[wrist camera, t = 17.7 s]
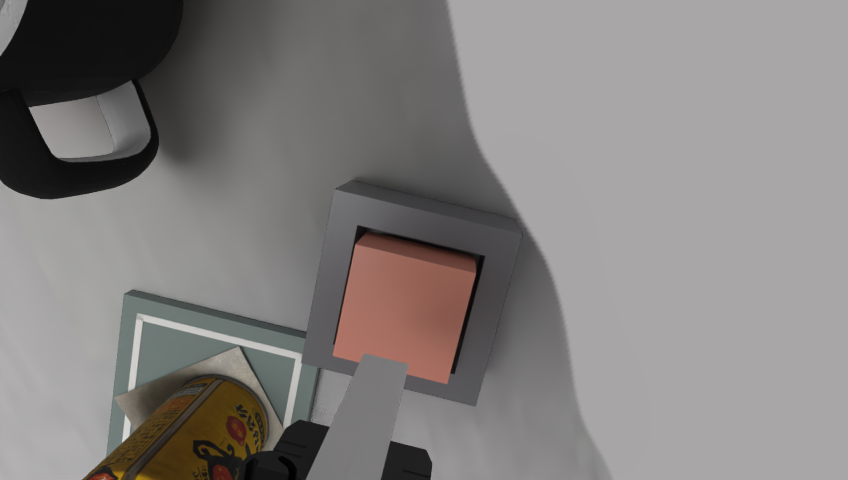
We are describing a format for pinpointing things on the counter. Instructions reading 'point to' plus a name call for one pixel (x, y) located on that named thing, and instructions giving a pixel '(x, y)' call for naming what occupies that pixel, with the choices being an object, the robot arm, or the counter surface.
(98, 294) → the counter surface
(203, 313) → the slate board
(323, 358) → the button housing
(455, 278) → the button
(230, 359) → the condiment
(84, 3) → the mug
